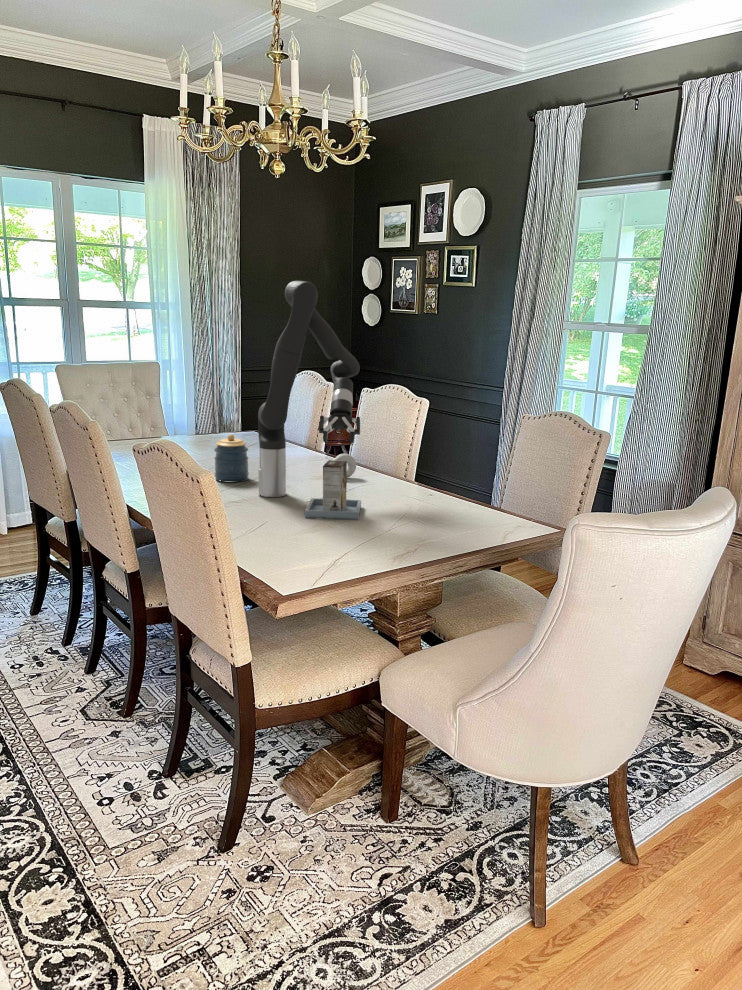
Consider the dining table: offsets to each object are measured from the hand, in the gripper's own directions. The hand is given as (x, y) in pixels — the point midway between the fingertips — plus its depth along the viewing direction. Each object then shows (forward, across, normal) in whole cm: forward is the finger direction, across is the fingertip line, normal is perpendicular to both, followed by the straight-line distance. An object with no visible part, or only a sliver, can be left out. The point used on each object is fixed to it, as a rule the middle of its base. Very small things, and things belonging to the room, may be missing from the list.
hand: (338, 442), depth 255 cm
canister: (-6, -44, +37) cm, 58 cm away
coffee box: (+23, 0, +6) cm, 24 cm away
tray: (+24, 0, +6) cm, 25 cm away
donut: (-12, -1, +42) cm, 44 cm away
